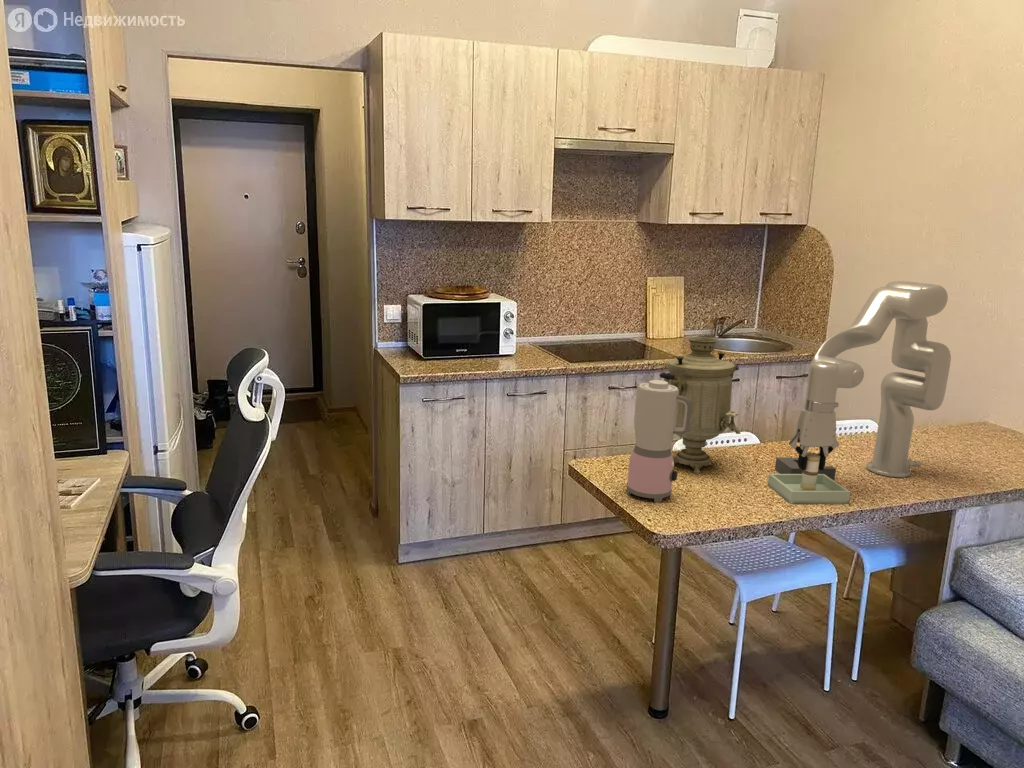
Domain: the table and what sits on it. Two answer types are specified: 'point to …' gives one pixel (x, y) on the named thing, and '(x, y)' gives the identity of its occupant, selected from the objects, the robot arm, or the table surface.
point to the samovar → (702, 398)
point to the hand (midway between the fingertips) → (810, 468)
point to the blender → (655, 439)
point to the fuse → (810, 472)
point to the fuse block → (792, 468)
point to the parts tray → (793, 494)
